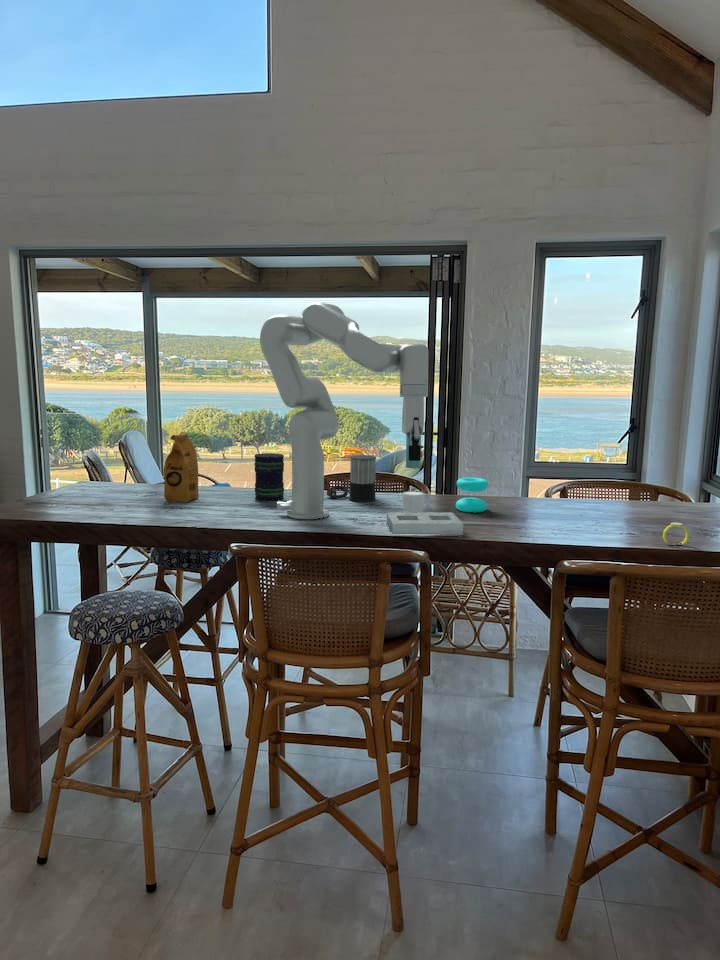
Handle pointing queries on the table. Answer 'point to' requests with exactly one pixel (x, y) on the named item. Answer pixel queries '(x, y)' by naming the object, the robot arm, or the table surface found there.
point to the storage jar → (269, 477)
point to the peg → (408, 463)
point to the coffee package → (181, 471)
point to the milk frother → (359, 480)
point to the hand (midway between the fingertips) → (413, 458)
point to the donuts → (472, 486)
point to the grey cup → (413, 501)
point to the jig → (424, 523)
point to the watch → (675, 526)
